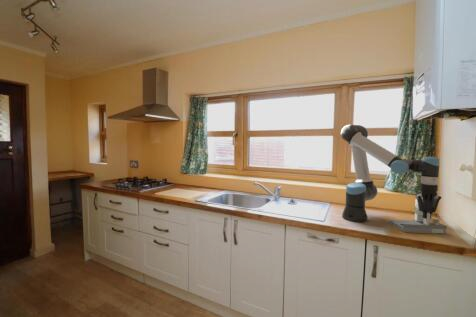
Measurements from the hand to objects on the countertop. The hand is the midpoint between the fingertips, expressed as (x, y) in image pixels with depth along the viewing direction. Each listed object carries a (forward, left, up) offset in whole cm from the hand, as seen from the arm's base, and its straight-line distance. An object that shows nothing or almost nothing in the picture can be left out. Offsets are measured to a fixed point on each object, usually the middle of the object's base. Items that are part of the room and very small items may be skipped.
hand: (426, 223), depth 129 cm
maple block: (+3, +1, -2) cm, 4 cm away
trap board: (-3, +4, -4) cm, 6 cm away
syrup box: (+8, +15, -4) cm, 17 cm away
